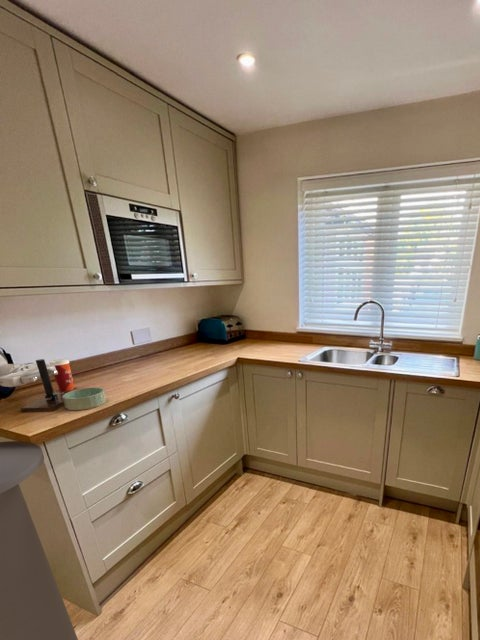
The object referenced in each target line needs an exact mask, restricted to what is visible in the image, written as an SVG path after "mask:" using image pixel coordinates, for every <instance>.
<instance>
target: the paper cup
mask: <svg viewBox="0 0 480 640" xmlns="http://www.w3.org/2000/svg"><path fill="white" fill-rule="evenodd" d="M48 365H54V366H55V368H56V370H57V372H58V374H57V375H53V377H54V379H55V382H56V384H57V388H58V390H59V392H63V391H73V390H75V385H74V384H75V383H74V379H73V375H72V371H71V365H70V361H69V359H68V358H57V359H53V360H50V361H49V364H48Z"/></svg>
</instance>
